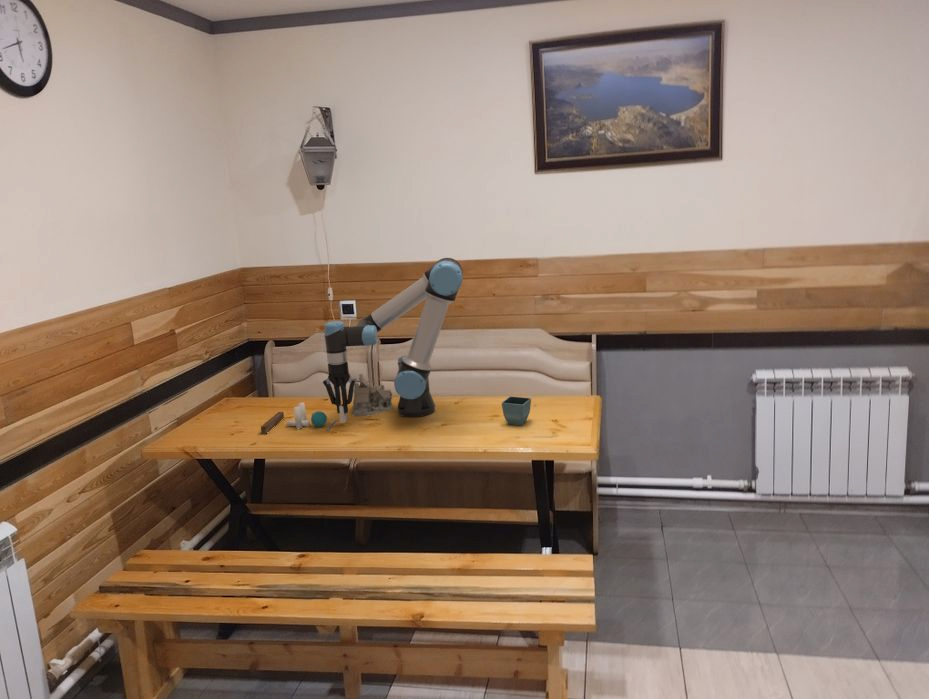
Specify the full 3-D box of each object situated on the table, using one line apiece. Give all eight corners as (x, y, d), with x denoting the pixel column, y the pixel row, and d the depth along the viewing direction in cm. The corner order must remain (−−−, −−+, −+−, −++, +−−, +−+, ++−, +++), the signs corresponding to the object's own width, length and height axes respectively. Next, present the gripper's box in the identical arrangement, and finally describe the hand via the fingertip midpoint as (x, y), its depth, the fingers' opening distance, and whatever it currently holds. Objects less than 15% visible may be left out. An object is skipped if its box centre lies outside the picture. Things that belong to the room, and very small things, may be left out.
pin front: (309, 419, 304) (288, 419, 305) (307, 421, 301) (286, 421, 303) (309, 425, 304) (289, 425, 305) (307, 427, 302) (286, 427, 303)
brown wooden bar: (284, 418, 314) (283, 411, 313) (266, 434, 296) (265, 426, 296) (279, 418, 314) (278, 411, 313) (261, 434, 297) (260, 426, 296)
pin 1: (303, 427, 302) (300, 406, 300) (301, 429, 300) (298, 408, 298) (297, 427, 302) (295, 406, 300) (295, 429, 300) (292, 408, 298)
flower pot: (532, 420, 294) (531, 397, 291) (524, 428, 286) (523, 404, 284) (510, 418, 297) (509, 396, 295) (502, 425, 290) (501, 402, 287)
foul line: (338, 420, 307) (338, 420, 307) (328, 431, 295) (328, 430, 295) (335, 420, 307) (335, 420, 307) (325, 431, 296) (325, 430, 296)
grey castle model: (346, 415, 312) (345, 379, 309) (362, 404, 328) (361, 370, 325) (382, 419, 309) (382, 382, 305) (396, 407, 324) (396, 372, 321)
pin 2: (307, 422, 307) (305, 402, 305) (305, 425, 304) (303, 404, 302) (302, 423, 307) (299, 402, 305) (299, 425, 305) (297, 404, 303)
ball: (310, 417, 305) (323, 426, 305) (306, 422, 299) (318, 432, 299) (319, 406, 303) (331, 415, 303) (314, 411, 297) (327, 420, 298)
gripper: (357, 359, 297) (362, 417, 303) (324, 360, 299) (330, 418, 305) (351, 364, 290) (357, 424, 295) (317, 365, 292) (324, 424, 298)
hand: (343, 421), depth 300 cm, fingers closed
